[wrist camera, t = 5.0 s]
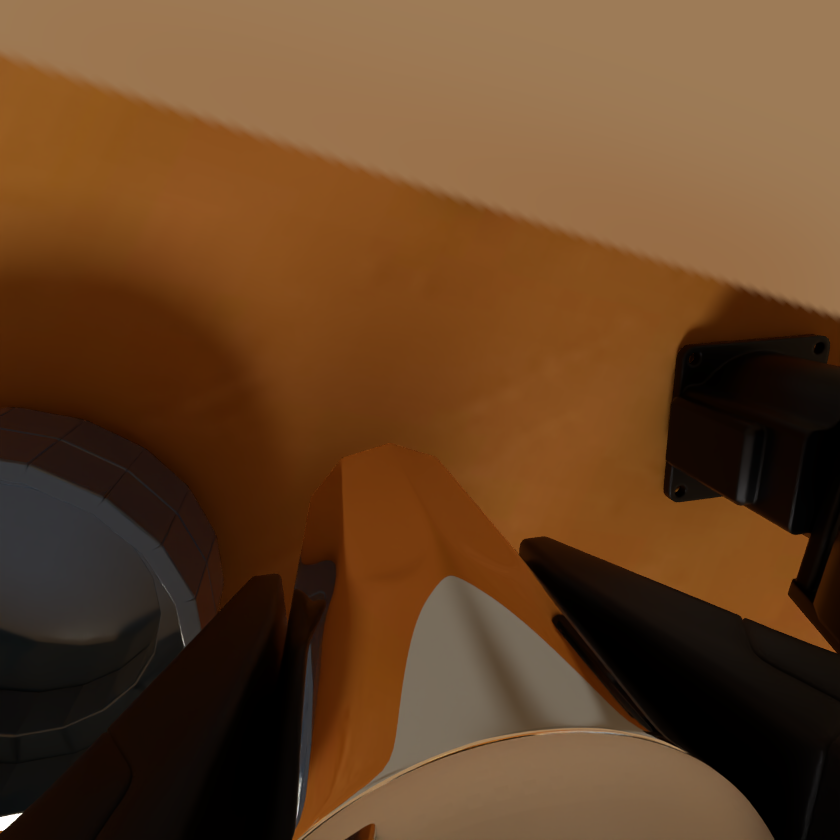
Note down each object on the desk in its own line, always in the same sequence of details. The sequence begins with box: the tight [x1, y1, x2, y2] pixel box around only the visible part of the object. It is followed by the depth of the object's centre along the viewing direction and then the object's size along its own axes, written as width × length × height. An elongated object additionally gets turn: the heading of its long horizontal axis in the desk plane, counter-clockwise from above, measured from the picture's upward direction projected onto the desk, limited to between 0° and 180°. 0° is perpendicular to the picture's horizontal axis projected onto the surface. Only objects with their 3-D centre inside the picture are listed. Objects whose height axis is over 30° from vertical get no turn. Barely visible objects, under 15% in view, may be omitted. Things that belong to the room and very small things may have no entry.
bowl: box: [0, 407, 224, 831], centre depth 17 cm, size 12×12×4 cm
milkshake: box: [242, 443, 774, 840], centre depth 7 cm, size 5×5×10 cm
